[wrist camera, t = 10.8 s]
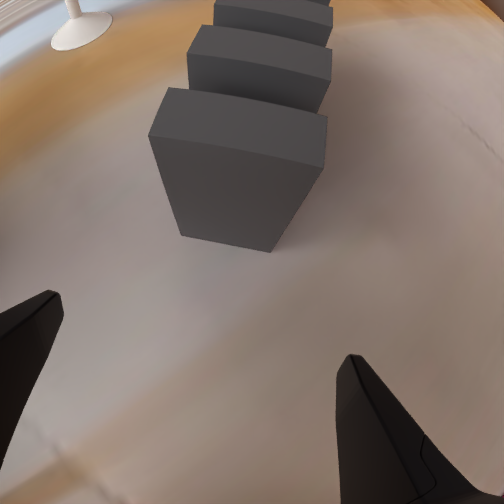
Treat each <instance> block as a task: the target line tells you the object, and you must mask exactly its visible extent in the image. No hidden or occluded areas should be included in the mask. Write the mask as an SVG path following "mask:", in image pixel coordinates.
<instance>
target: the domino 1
mask: <svg viewBox="0 0 504 504" xmlns="http://www.w3.org/2000/svg"><path fill="white" fill-rule="evenodd" d="M213 26H221V27H229V28H236V29H242V30H249V31H255V32H260V33H266V34H271V35H276V36H280V37H285V38H290V39H294V40H298V41H302V42H306V43H310V44H314V45H318V46H321V47H325V46H326V44H327V41H328V38H329V36H330V33H331V30H332V28H333V7H329V6H326V5H322V4H318V3H315V2H311V1H307V0H216V2H215V3H214V19H213Z"/></svg>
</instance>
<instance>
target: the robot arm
mask: <svg viewBox="0 0 504 504" xmlns="http://www.w3.org/2000/svg"><path fill="white" fill-rule="evenodd" d="M63 317H64V311H63V306H62V301H61V296H60V294H59V293H58V292H55V291H52V290H46V291H44V292H42V293H40V294H38V295H36V296H34V297H32V298H30V299H28V300H26V301H24V302H22V303H20V304H18V305H16V306H14V307H12V308H10V309H8V310H6V311H4V312H2V313H0V470H1V467H2V464H3V461H4V457H5V455H6V452H7V449H8V446H9V444H10V441H11V439H12V436H13V433H14V431H15V428H16V426H17V424H18V421H19V419H20V416H21V414H22V412H23V409H24V407H25V405H26V402H27V400H28V398H29V396H30V394H31V391H32V389H33V387H34V385H35V383H36V381H37V379H38V376H39V374H40V372H41V370H42V368H43V366H44V364H45V362H46V360H47V358H48V356H49V353H50V351H51V348H52V345H53V343H54V340H55V338H56V335H57V333H58V330H59V328H60V325H61V323H62V321H63ZM336 433H337V446H338V460H339V477H340V497H341V504H504V497H500V496H495V495H491V494H487V493H484V492H482V491H480V490H478V489H477V488H475V487H474V486H473V485H472V484H471V483H470V482H469V481H468V480H467V479H466V478H465V477H464V476H463V475H462V474H461V473H460V472H459V471H458V470H457V469H456V468H455V467H454V466H453V465H452V464H451V463H450V462H449V461H448V460H447V459H446V457H445V456H444V455H443V454H442V453H441V452H440V451H439V450H438V448H437V447H436V446H435V445H434V444H433V443H432V441H431V440H430V439H429V438H428V436H427V435H426V434H424V432H423V430H422V429H421V428H420V427H419V425H418V424H417V423H416V422H415V420H414V419H413V418H412V417H411V415H410V414H409V413H408V412H407V411H406V409H405V408H404V407H403V406H402V404H401V403H400V402H399V401H398V399H397V398H396V397H395V396H394V395H393V393H392V392H391V391H390V390H389V388H388V387H387V386H386V385H385V384H384V382H383V381H382V380H381V379H380V378H379V376H378V375H377V374H376V373H375V371H374V370H373V369H372V368H371V367H370V365H369V364H368V363H367V362H366V361H365V359H364V358H363V357H362V356H360V355H354V354H349V355H348V356H347V357H346V358H345V360H344V362H343V363H342V365H341V367H340V368H339V370H338V372H337V378H336Z"/></svg>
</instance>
